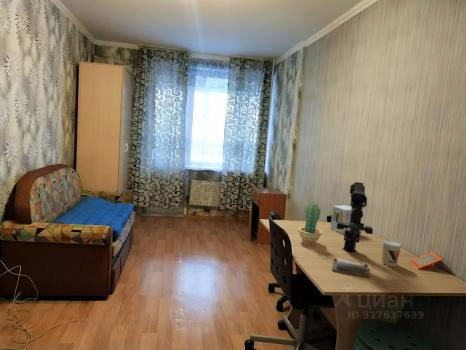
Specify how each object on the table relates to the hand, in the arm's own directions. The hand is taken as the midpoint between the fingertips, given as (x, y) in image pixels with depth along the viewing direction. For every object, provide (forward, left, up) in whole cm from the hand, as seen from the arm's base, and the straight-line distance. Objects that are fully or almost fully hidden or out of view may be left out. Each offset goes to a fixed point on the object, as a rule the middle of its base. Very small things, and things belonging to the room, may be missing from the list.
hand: (352, 242), depth 202 cm
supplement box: (-44, -50, -11) cm, 68 cm away
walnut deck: (+8, +8, -11) cm, 16 cm away
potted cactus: (+1, -34, -11) cm, 36 cm away
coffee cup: (-21, +9, -11) cm, 25 cm away
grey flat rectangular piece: (+8, +8, -10) cm, 15 cm away
